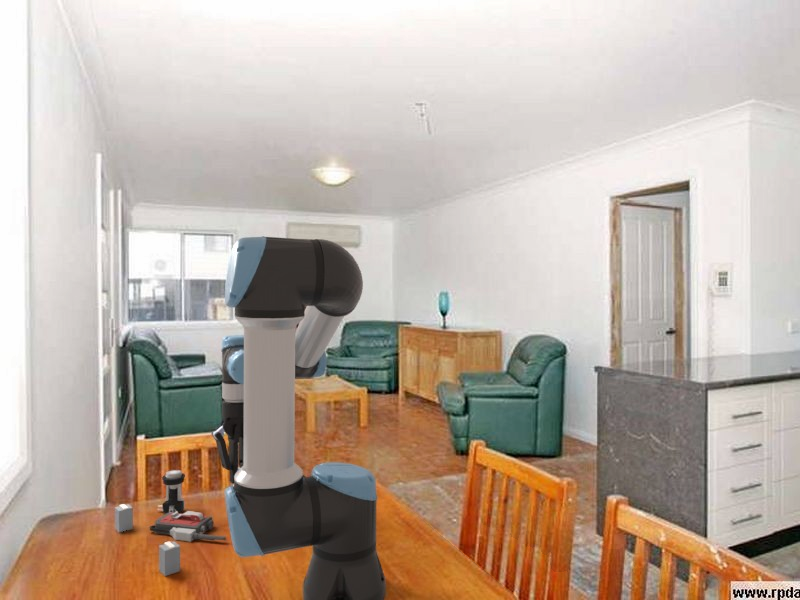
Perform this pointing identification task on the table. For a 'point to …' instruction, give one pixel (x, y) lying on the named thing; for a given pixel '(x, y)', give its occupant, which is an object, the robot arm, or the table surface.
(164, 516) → the walkie-talkie
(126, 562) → the table surface
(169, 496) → the push button
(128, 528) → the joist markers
